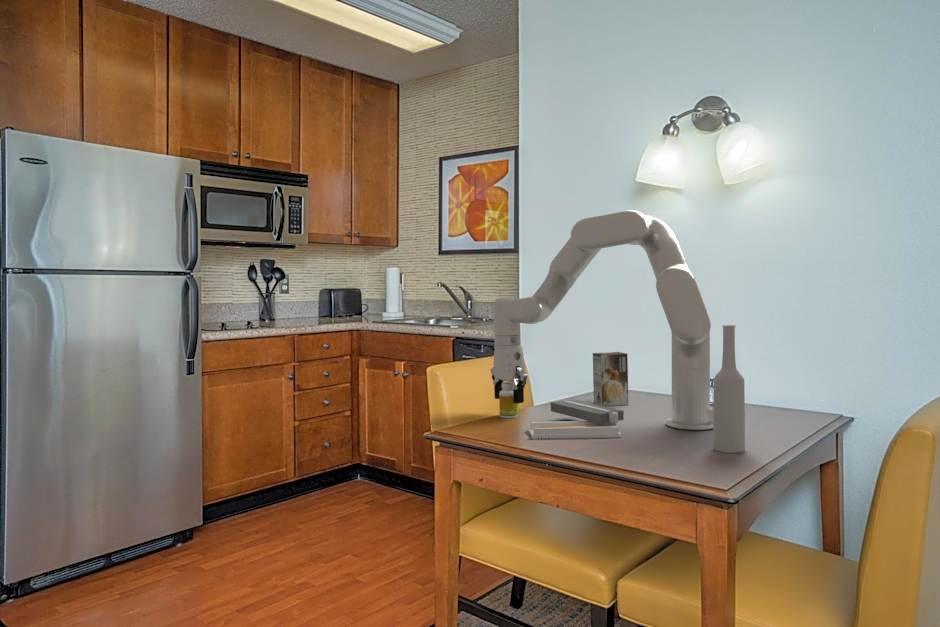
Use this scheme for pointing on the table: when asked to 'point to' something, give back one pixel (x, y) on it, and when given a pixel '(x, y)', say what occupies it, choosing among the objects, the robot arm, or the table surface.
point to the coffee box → (610, 378)
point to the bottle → (729, 400)
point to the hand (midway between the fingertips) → (509, 400)
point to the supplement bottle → (507, 401)
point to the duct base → (573, 430)
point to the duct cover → (588, 411)
